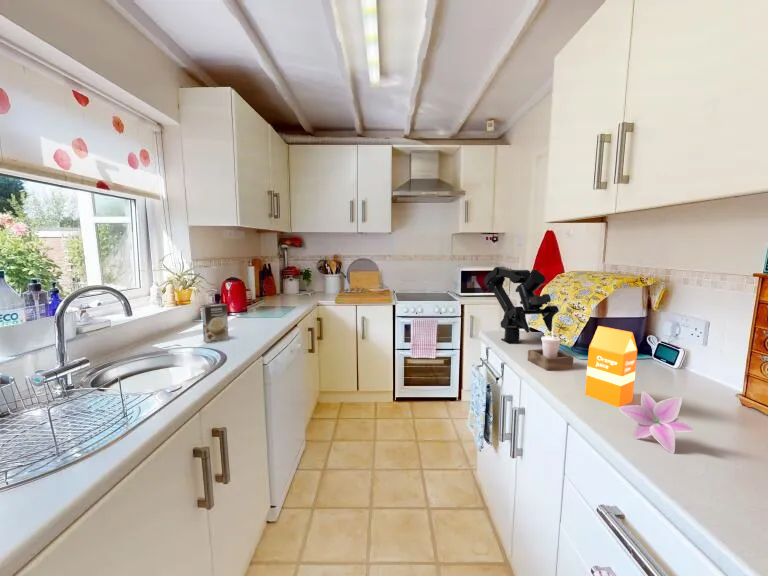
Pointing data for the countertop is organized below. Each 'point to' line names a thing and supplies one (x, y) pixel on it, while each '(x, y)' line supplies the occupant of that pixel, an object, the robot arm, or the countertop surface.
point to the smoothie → (550, 345)
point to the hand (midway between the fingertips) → (539, 331)
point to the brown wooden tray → (550, 360)
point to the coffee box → (215, 322)
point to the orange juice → (611, 366)
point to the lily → (657, 420)
